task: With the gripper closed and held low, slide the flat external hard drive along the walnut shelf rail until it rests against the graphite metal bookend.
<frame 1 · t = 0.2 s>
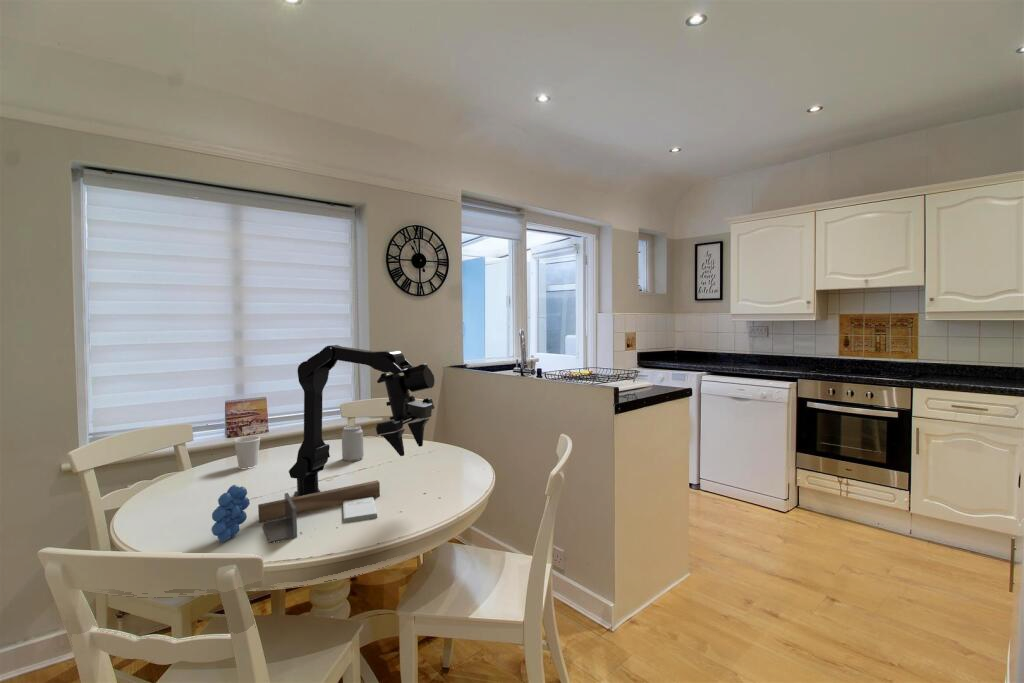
hand: (411, 451, 129), 15 cm above the table, tool pointing down, fingers open, 9 cm apart
bookend: (291, 528, 116), on the table
shelf rail: (322, 507, 129), on the table
can: (353, 459, 174), on the table
grapes: (228, 537, 112), on the table
external hard drive: (359, 513, 126), on the table
dixie cup: (248, 467, 167), on the table
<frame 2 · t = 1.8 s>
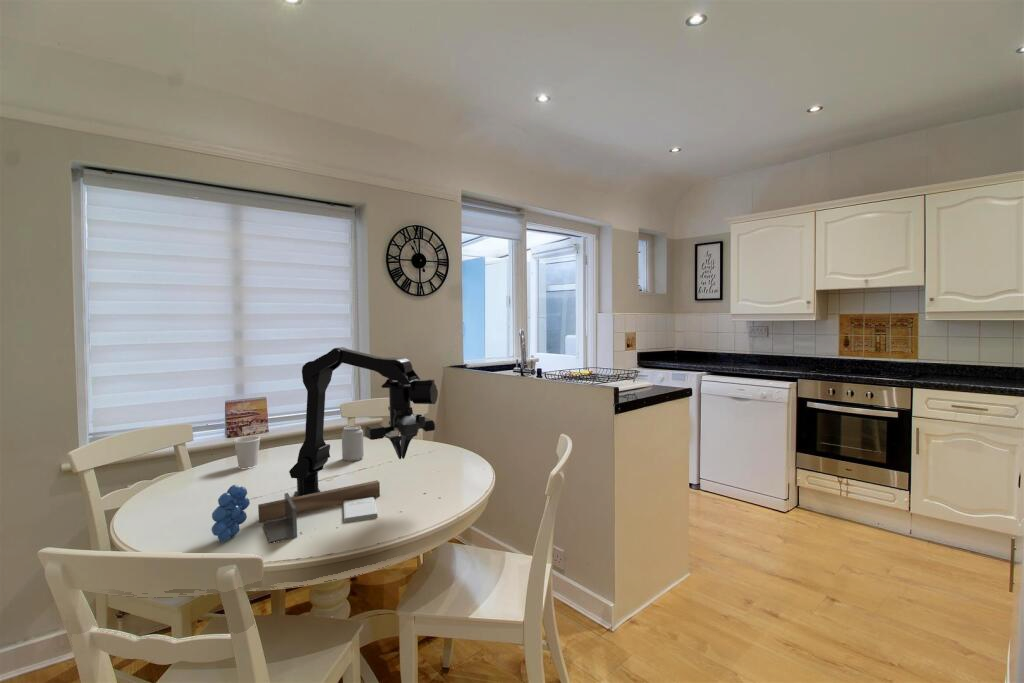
hand: (401, 458, 132), 12 cm above the table, tool pointing down, fingers closed
nothing on the table moved.
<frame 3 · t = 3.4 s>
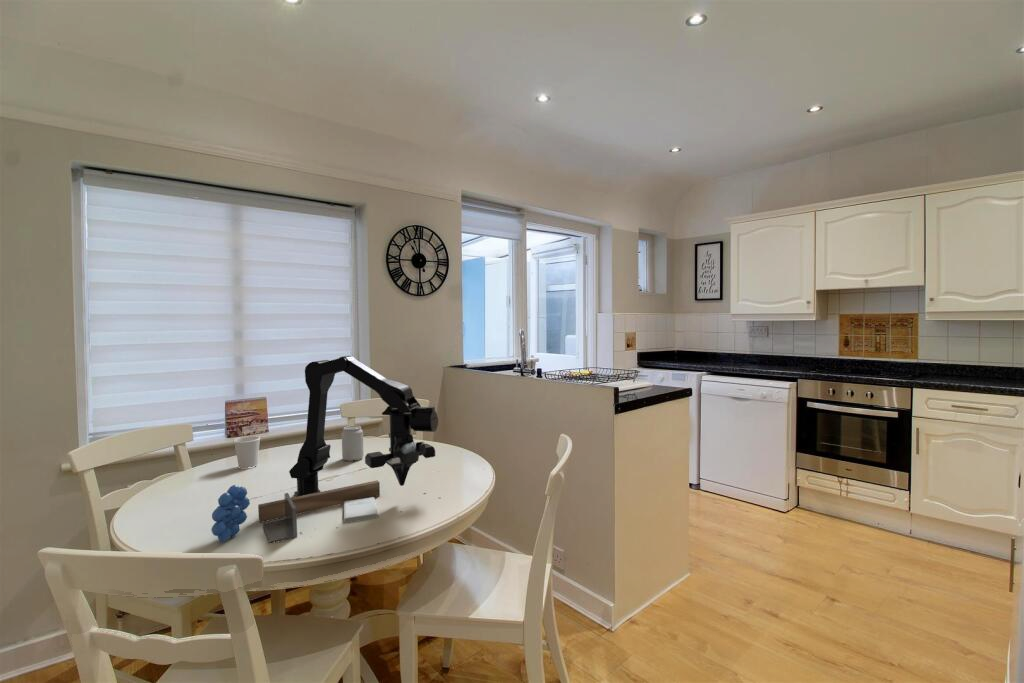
hand: (401, 485, 133), 4 cm above the table, tool pointing down, fingers closed
nothing on the table moved.
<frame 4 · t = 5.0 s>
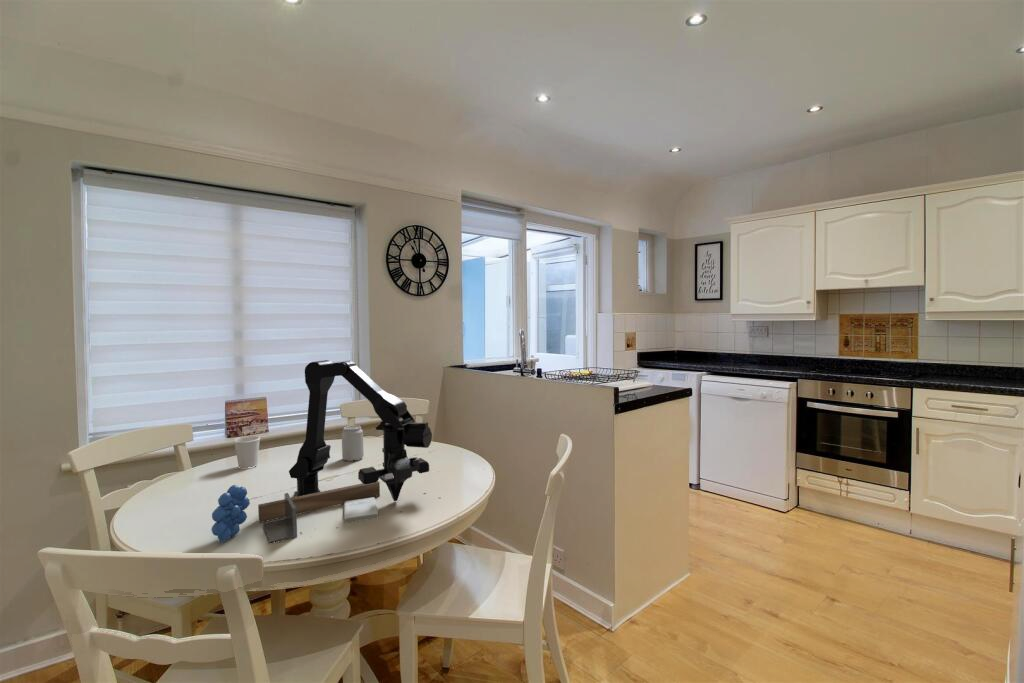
hand: (395, 500, 132), 0 cm above the table, tool pointing down, fingers closed
nothing on the table moved.
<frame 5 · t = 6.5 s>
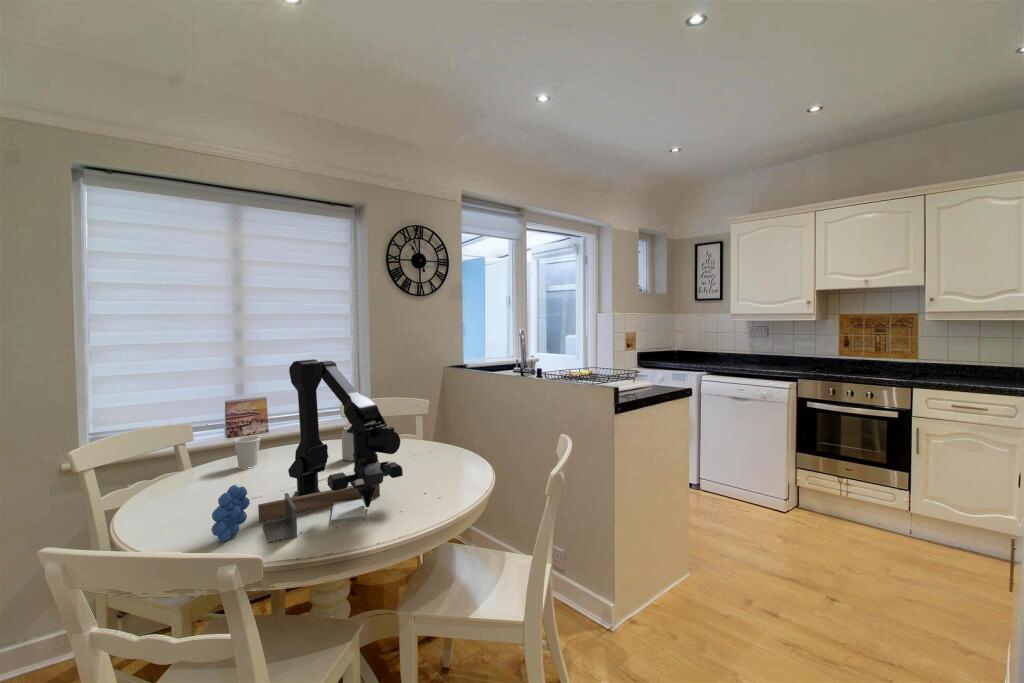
hand: (367, 506, 127), 1 cm above the table, tool pointing down, fingers closed
external hard drive: (348, 515, 125), on the table, touching gripper
everything else where it was.
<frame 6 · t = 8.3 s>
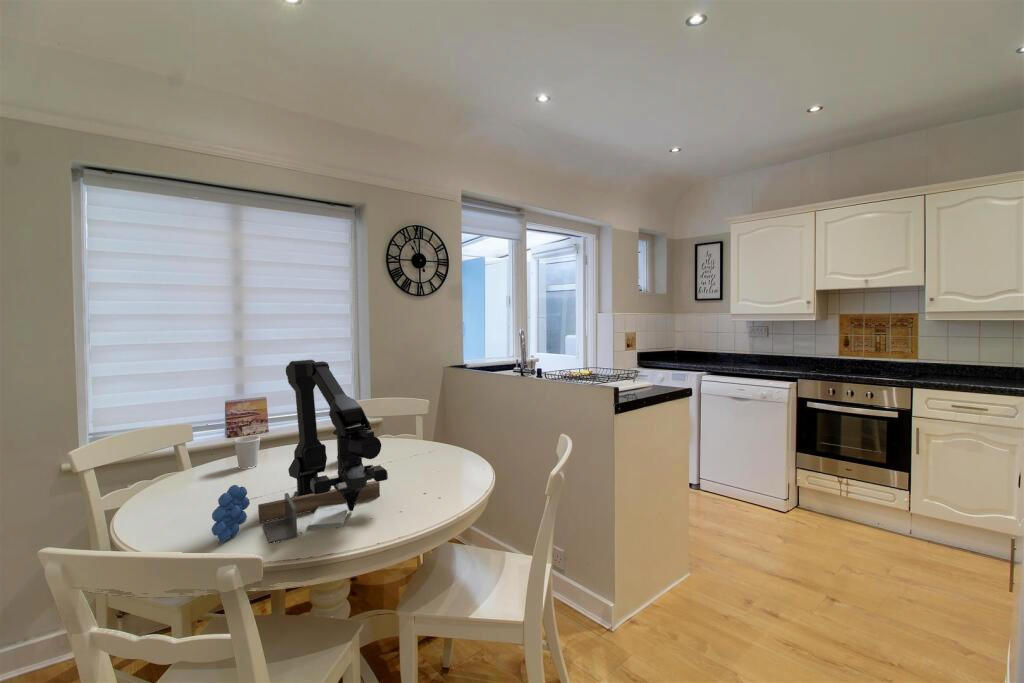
hand: (350, 510, 125), 1 cm above the table, tool pointing down, fingers closed
external hard drive: (329, 520, 122), on the table
everything else where it was.
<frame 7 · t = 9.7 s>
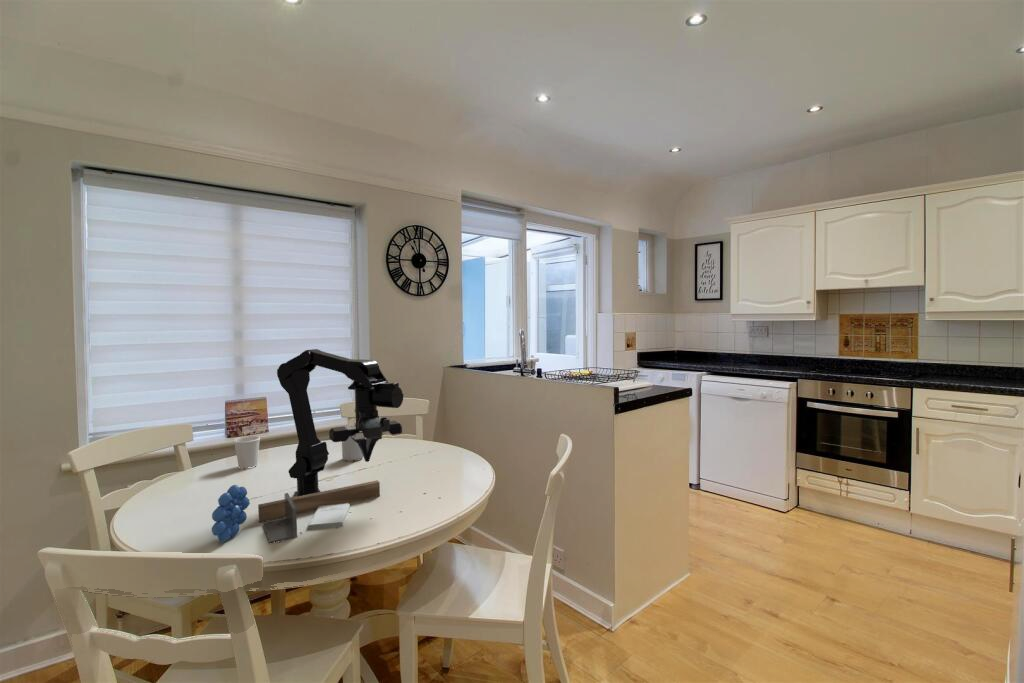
hand: (367, 461, 131), 12 cm above the table, tool pointing down, fingers closed
nothing on the table moved.
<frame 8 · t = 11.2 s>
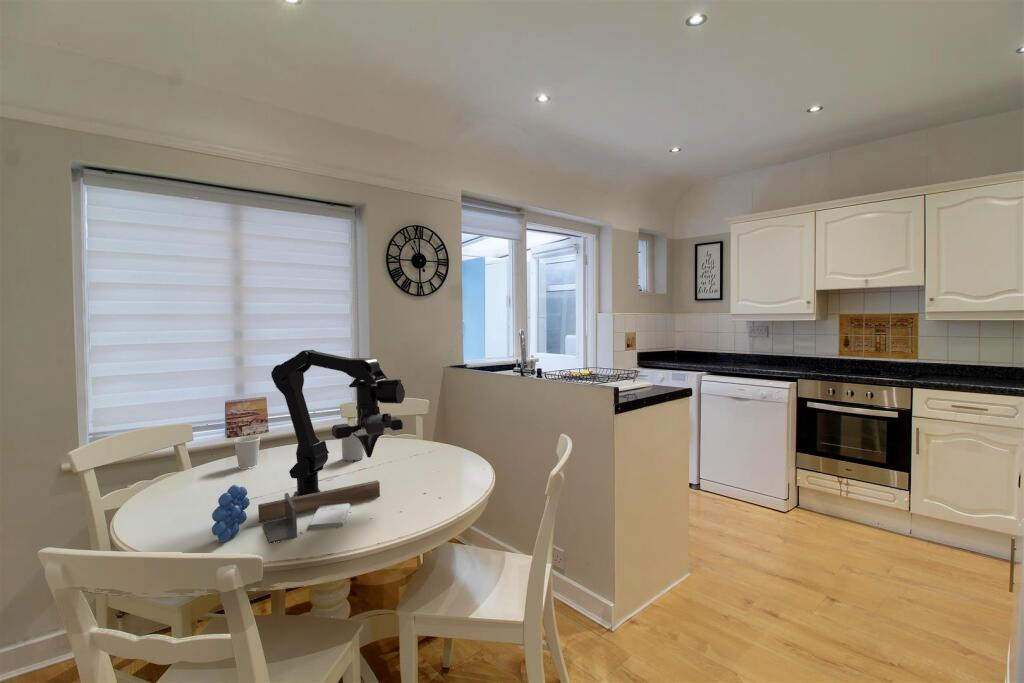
hand: (369, 457, 134), 12 cm above the table, tool pointing down, fingers closed
nothing on the table moved.
at the end: external hard drive inside the target area (2.8 cm from its centre), on the table; external hard drive moved 7.5 cm from its start; external hard drive tilted 0° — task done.
